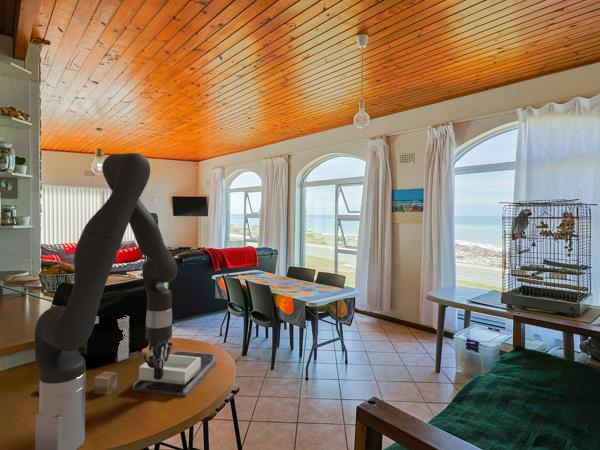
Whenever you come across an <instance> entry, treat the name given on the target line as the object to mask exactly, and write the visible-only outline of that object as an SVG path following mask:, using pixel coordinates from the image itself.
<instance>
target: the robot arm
mask: <svg viewBox="0 0 600 450" xmlns="http://www.w3.org/2000/svg"><path fill="white" fill-rule="evenodd" d="M101 167H102V168H101V169H102V170H101V171H102V174H103V177H104V179H105V181H106V183H107V185H108V187H109V189H110V190H111V193H110V196H109V198H108V199H107V200H106V201H105V202H104V204H103V205H102V206H101V207H100V208H99V209H98V210H97V212H95V214H94V215H93V216H92V217H91V218H89V220H88V222H87V223H86V224H85V225H84V228H83V230H82V232H81V235H80V237H79V240H78V241H77V244H76V247H75V250H74V255H73V270H74V271H73V272H74V279H73V282H74V283H73V287H72V291H71V293H70V295H69V299H68V300H67V302H66V306H64V305H55V306H53V307H50V308H48V309H46V310H45V311H44V312H42V313H41V315H40V316H39V317H38V319H37V321H36V324H35V328H34V353H35V354H34V355H35V365H36V368H37V370H38V374H39V385H40V392H39V393H38V394H39V395H38V396H39V401H38V402H39V403H38V404H39V405H38V406H39V407H38V409H39V410H38V411H39V412H38V413H37V414H35V425H34V426H35V431H34V432H35V436H34V438H35V442H34V443H35V444H34V445H35V447H34V450H79V448H81V447H82V446H83V444H84V443H85V439H86V438H85V437H86V370H87V369H86V359H85V358H84V356H83V355H82V354H81V353H80V351H79V349H80V348H81V347H82V346H84V344H86V342H87V341H88V340H89V338H90V337H91V335H92V332H93V329H94V327H95V324H96V320H97V315H98V312H99V308H100V304H101V300H102V298H103V297H102V296H103V293H104V290H105V287H106V284H107V282H108V279H109V276H110V273H111V270H112V267H113V265H114V262H115V260H116V258H117V256H118V255H117V254H118V253H119V250H120V248H121V244H122V241H123V239H124V236H125V233H126V230H127V227H128V226H130V228H131V231H132V233H133V236H134V238H135V241H136V244H137V246H138V250H139V252H140V253H141V254H142V256H144V257H147V258H148V259H146V261H145V262H144V263H143V266H142V272H141V275H142V280H143V284H144V289H145V292H146V297H147V299H146V305H147V306H146V314H145V315H146V317H145V339H146V341H148V343H149V346H148V353H147V354H145V355H143V359H144V361H145V363H147V365H148V366H149V368H154V379H156V380H160V379H161V378H162V377H163V366H164V364H165V362H167V360H168V357H169V354H170V355H171V351H172V347H173V342H169V340H170V339H171V338H172V337H173V309H172V306H173V305H172V304H173V303H172V302H173V301H172V299H173V295H172V291H171V290H170V289H168V288H167V287H165V285H164V283H171V282H173V281H174V280H175V279H176V277H177V276H178V263H177V262H176V259H175V258H174V257H173V255H172V253H171V251H170V250H169V249H168V247H167V246H166V244H165V242H164V239H163V235H162V232H161V229H160V227H159V224H158V223H157V221H156V219H155V217H154V216H153V215H152V214H151V212H150V211H149V209H147V208H146V206H145V205H144V204H143V202H142V200H141V199H140V197H142V194H143V192H144V190H145V188H146V187H147V183H148V182H149V179H150V175H151V165H150V162H149V160H148V158H147V157H146V156H145V155H143V154H141V153H137V152H136V153H135V152H126V153H114V154H110V155H108V156H107V157H106V158H105V159H104V160H103V163H102V166H101Z"/></svg>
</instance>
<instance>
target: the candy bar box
mask: <svg viewBox="0 0 600 450" xmlns="http://www.w3.org/2000/svg"><path fill="white" fill-rule="evenodd" d="M126 316H127V317H123V318H120V319H117V323H118V327H119V329H120V330H123V332H122V334H123V337H124V338H123V337H122V338H123V340H121V341H120V342H119V343H120V344H119V346H118V350H117V356H116V359H115V361H114V362H116V363H118V362H119V361H120V362H123V361H124V360H129V358H130V356H129V355H130V353H129V352H130V316H128V315H126ZM124 335H125V336H124Z"/></svg>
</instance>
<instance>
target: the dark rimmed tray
mask: <svg viewBox="0 0 600 450" xmlns="http://www.w3.org/2000/svg"><path fill="white" fill-rule="evenodd" d="M171 351H172V352H171V355H180V356H190V357H201V367H200V370H199V371H198V372H197V373H196V374H195V375H194V376H193V377H192V378H191V379H190V380H189V381H188V382H187V383H186V384H183V386H178V385H177V384H176V383H166V382H157V381H151V382H150V383H147V382H146V381H145V380H139V379H137V381H135V382H134V383H133V384H132V388H131V389H132V391H134V392H141V393H150V394H159V395H169V396H177V397H188V395H189V394H190V393H191V392H192V391H193V390H194V388H195V387H197V386H198V384H200V383H201V381H202V380H203V379H204V378H205V377H206V376H207V375H208V374H209V372H210V371H212V369H214V367H216V365H217V361H216V360H217V359H216V358H215V353H212V352H210V353H209V352H200V351H190V350H189V351H188V350H180V349H179V350H178V349H173V350H171Z"/></svg>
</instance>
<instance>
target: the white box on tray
mask: <svg viewBox="0 0 600 450" xmlns="http://www.w3.org/2000/svg"><path fill="white" fill-rule="evenodd" d="M200 367H201V357H190V356H180V355H172V354H171V353H170V354H169V357H168V360H167V362H165V364H164V366H163V377H162V378H161V379H160V380H156V379H154V368H149V366H148V365H147V363H146V362H144V363H142V364H141V365H139V366H138V380H145V381H146V382H147V383H150V382H151V381H157V382H166V383H176V384H177V385H178V386H183V384H186V383H187V382H188V381H189V380H190V379H191V378H192V377H193V376H194V375H195V374H196V373H197V372H198V371H199V370H200Z"/></svg>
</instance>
